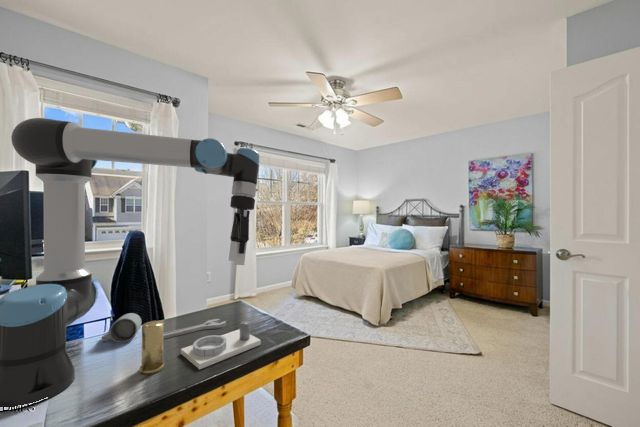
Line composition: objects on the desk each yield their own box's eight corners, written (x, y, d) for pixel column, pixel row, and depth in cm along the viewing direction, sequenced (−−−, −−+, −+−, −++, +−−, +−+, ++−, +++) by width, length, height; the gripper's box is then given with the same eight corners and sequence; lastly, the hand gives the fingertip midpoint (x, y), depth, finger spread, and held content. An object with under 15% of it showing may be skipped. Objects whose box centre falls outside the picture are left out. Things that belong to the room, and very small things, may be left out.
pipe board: (199, 369, 77) (199, 345, 77) (180, 353, 85) (181, 332, 85) (260, 344, 92) (261, 324, 92) (239, 333, 100) (240, 314, 100)
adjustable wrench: (147, 344, 92) (147, 339, 92) (146, 336, 97) (146, 331, 97) (226, 327, 105) (226, 322, 105) (222, 321, 111) (222, 317, 111)
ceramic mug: (142, 330, 100) (142, 309, 100) (137, 341, 93) (136, 317, 92) (106, 335, 96) (106, 312, 96) (97, 346, 89) (97, 322, 89)
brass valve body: (135, 375, 74) (136, 329, 73) (144, 363, 79) (145, 320, 79) (160, 373, 75) (161, 327, 75) (167, 361, 81) (168, 319, 80)
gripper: (264, 193, 83) (256, 267, 81) (247, 202, 106) (241, 259, 103) (237, 189, 80) (228, 266, 78) (226, 199, 103) (219, 258, 100)
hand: (235, 262), depth 91 cm, fingers open, 13 cm apart
